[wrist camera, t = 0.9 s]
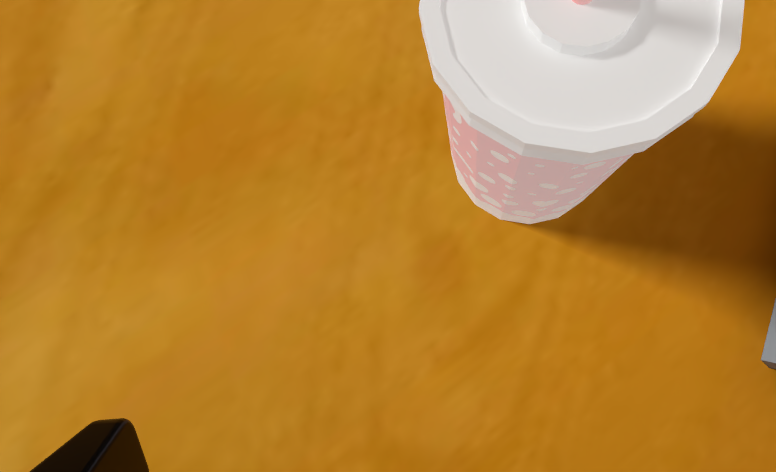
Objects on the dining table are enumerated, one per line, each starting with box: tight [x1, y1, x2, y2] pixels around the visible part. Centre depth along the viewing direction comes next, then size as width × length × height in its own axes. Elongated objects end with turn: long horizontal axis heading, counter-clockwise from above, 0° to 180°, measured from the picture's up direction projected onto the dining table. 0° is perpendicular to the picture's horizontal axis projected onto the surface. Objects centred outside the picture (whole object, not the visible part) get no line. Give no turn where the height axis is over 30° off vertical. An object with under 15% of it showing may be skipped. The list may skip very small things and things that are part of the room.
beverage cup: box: [419, 0, 744, 224], centre depth 16 cm, size 6×6×14 cm
